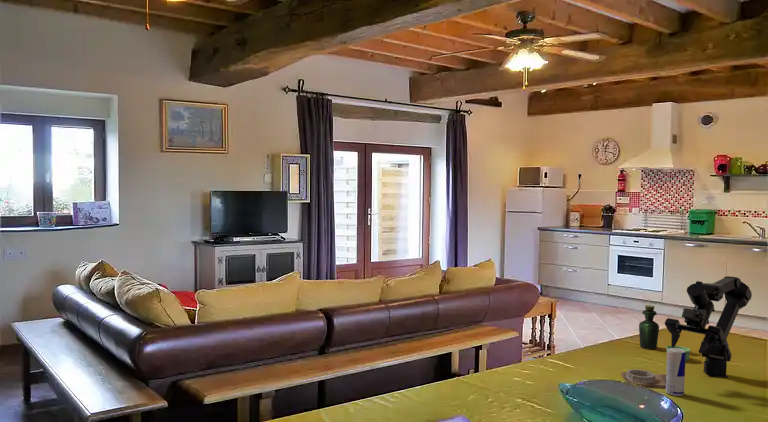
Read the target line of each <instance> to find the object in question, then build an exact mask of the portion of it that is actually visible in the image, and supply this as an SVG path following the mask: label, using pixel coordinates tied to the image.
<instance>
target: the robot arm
mask: <svg viewBox="0 0 768 422" xmlns="http://www.w3.org/2000/svg"><path fill="white" fill-rule="evenodd" d="M686 292H687V295H688V297H689V299H690V302H691V303H692V304H693V305H694V307H693V308H686V307H684V308H683V309H682V314H681V318H682V319H683V318H684V320H683V321H684V323H685V324H683V323H681V322H680V320H679V319H676V318H670V317H668V318H666V319H665V321H664V326H665V327H666V330H667V331H668V333H670V334H671V335H670V336H671V345H670V346H672V348H674V346H677V343H678V342H679V339H680V337H681V333H682V331H685V332H691V333H694V334H699V335H704V337H703V338H702V339H703V340H701V342H700V346H699V349H698V354H701V357H702V358H705V360H704V361H703V373H704V374H706V375H707V377H710V378H729V376H728V375H727V363H728V362H731V359H732V355H733V354H732V352H731V350H730V348H729V342H728V336H729V334H730V332H731V329H732V327H733V324H734V323H735V320H736V318H737V316H738V313H739V311H740V310H741V309H743V308H745V307H746V306H747V305H748V303H749V302H750V301H751V300H752V295H753V293H752V291H751V288H750V286H748V285H747V284H745V283H744V282H743V281H741V278H739V277H738V276H729V275H727V276H724V277H723V278H721V279H719V280H717V281H715V282H713V283H711V282H710V283H709V282H707V283H706V282H705V283H703V281H698V280H696V282H695V283H692V284H690V285H688V286H687V288H686ZM724 297H725V300H726V302H725V305H724V307H723V309H722V311H721V314H720V316H719V318H718V320H717V323H716V325H709V324H710V321H709V319H710V317H711V315H712V312H714V313H715V305H714V302H717V303H718V302H720V301H722V299H723V298H724ZM707 325H708V326H707ZM706 327H707V328H706Z"/></svg>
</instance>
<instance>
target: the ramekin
mask: <svg viewBox="0 0 768 422" xmlns="http://www.w3.org/2000/svg"><path fill="white" fill-rule="evenodd" d="M668 348H672V346H671V345H667V346H666V347H665V350H666V352H667V351H668ZM674 348H678V349H682V350H685V353H686V359H685V362H688V361H689V360H690V354H691V349H690V348H689V347H686V346H681V345H675V346H674Z"/></svg>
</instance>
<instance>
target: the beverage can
mask: <svg viewBox="0 0 768 422" xmlns="http://www.w3.org/2000/svg"><path fill="white" fill-rule="evenodd" d="M685 359H686V353H685V350H682V349H678V348H668V351H666V370H665V371H666V372H665V373H666V374H665V375H666V388H665V393H666V394H668V395H670V396H674V397H682V396H684V394H685V381H686V380H685V379H686V361H685Z"/></svg>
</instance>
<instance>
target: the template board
mask: <svg viewBox="0 0 768 422" xmlns="http://www.w3.org/2000/svg"><path fill="white" fill-rule="evenodd" d="M620 375H621V377H622V378H623V379H624V380H625V382H626V383H627V382H628V383H633V384H637V385H641V386H645V387H644V388H653V389H655V388H656V389H666V374H665V373H664V374H663V373H662V374H661V373H659V374H658V373H654V372H652V371H649V370H644V369H634V368H633V369H628V370H627V371H626V372H623V371H622V372H620ZM628 383H627V384H628Z"/></svg>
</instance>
